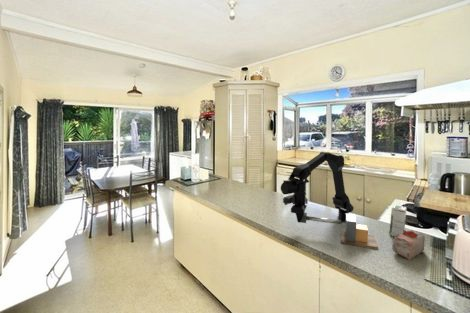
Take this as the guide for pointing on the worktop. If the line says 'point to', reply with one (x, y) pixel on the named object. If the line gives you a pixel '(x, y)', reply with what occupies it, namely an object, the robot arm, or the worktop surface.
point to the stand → (350, 234)
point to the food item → (409, 244)
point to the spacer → (361, 233)
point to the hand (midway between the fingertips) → (299, 220)
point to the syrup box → (397, 220)
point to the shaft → (319, 219)
